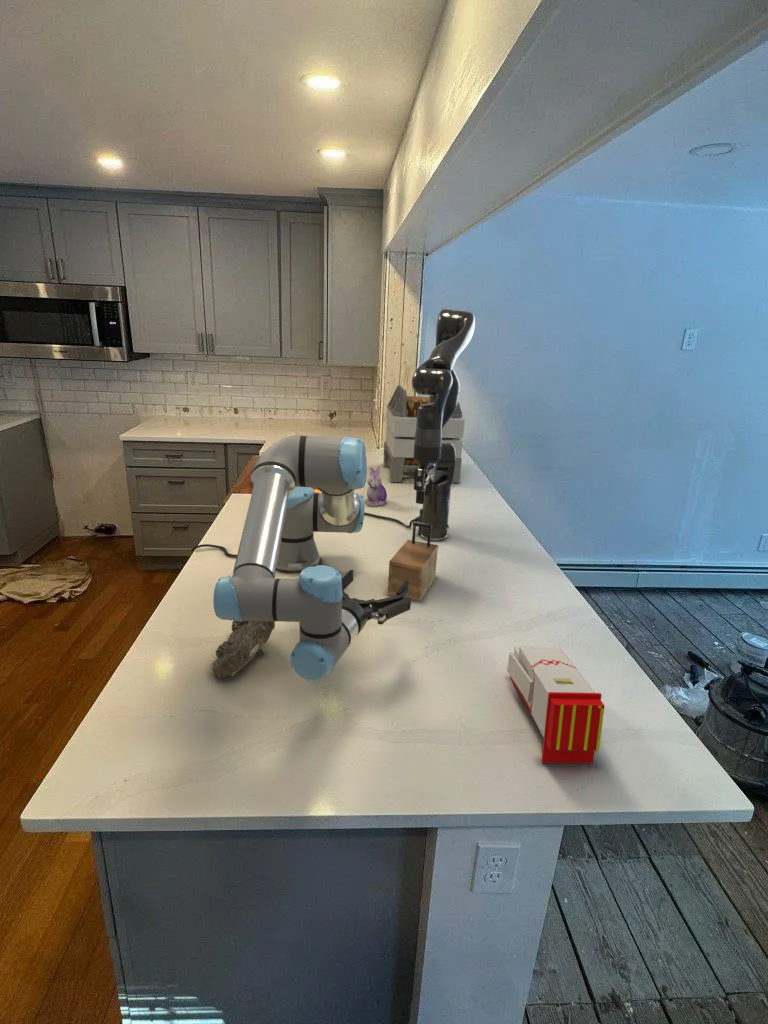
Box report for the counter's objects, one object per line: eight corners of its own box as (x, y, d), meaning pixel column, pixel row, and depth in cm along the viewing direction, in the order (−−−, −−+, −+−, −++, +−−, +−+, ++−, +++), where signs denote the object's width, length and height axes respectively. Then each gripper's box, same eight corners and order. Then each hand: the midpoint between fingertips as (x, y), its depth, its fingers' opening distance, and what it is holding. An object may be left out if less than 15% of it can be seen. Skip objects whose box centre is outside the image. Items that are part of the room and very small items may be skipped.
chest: (405, 571, 172) (407, 543, 169) (435, 576, 169) (437, 549, 166) (387, 594, 157) (389, 565, 154) (420, 601, 154) (422, 571, 151)
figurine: (371, 508, 224) (372, 471, 219) (360, 500, 232) (361, 464, 227) (392, 505, 228) (394, 469, 223) (380, 497, 236) (382, 462, 231)
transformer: (382, 463, 289) (386, 382, 275) (445, 464, 293) (451, 384, 279) (390, 482, 257) (394, 392, 243) (460, 483, 261) (468, 394, 247)
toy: (556, 628, 125) (614, 701, 96) (551, 684, 128) (605, 771, 99) (502, 627, 125) (543, 700, 95) (497, 683, 128) (536, 770, 98)
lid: (407, 543, 169) (409, 517, 167) (438, 548, 166) (440, 523, 164) (389, 564, 154) (390, 537, 152) (422, 571, 151) (424, 543, 149)
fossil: (228, 609, 137) (273, 580, 132) (255, 636, 140) (300, 609, 135) (192, 672, 118) (244, 640, 113) (224, 701, 121) (275, 672, 116)
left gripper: (286, 627, 117) (329, 584, 136) (400, 654, 110) (429, 605, 129) (285, 595, 115) (329, 556, 134) (402, 620, 107) (431, 575, 126)
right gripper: (434, 450, 148) (430, 508, 153) (447, 439, 160) (443, 494, 166) (407, 446, 150) (403, 504, 156) (422, 436, 163) (418, 490, 168)
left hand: (378, 580), depth 131 cm, fingers open, 13 cm apart
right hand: (424, 499), depth 161 cm, fingers open, 8 cm apart
